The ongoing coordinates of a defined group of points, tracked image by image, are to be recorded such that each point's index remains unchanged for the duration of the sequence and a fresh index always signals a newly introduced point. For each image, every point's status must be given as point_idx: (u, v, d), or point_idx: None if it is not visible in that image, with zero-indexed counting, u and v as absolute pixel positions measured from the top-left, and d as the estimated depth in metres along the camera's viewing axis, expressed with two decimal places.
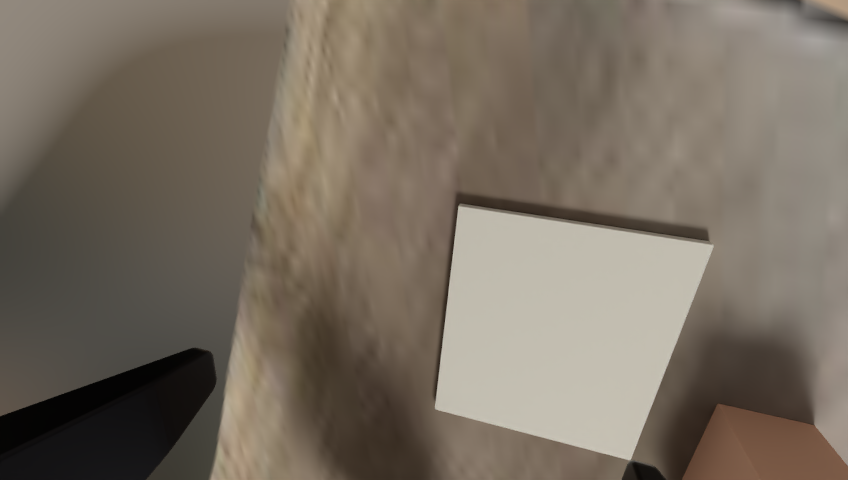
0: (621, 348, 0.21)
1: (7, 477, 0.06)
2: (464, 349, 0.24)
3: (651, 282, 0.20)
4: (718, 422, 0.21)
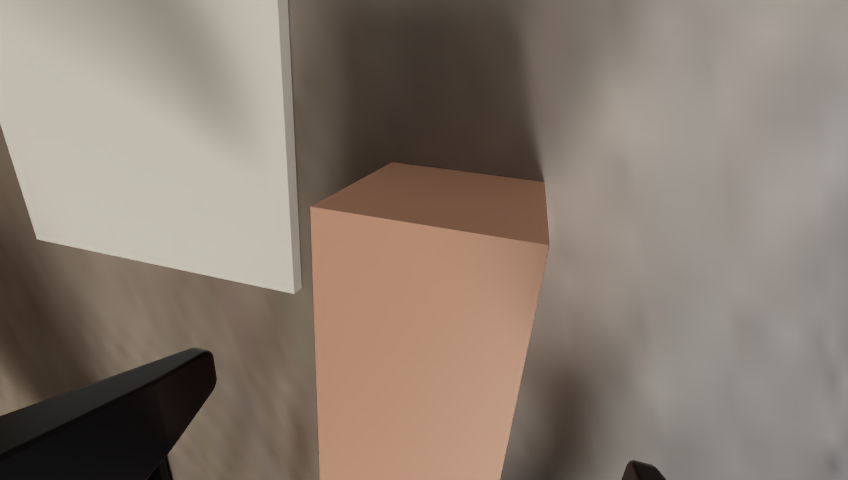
0: (209, 56, 0.12)
1: (7, 477, 0.06)
2: (23, 112, 0.14)
3: None
4: None
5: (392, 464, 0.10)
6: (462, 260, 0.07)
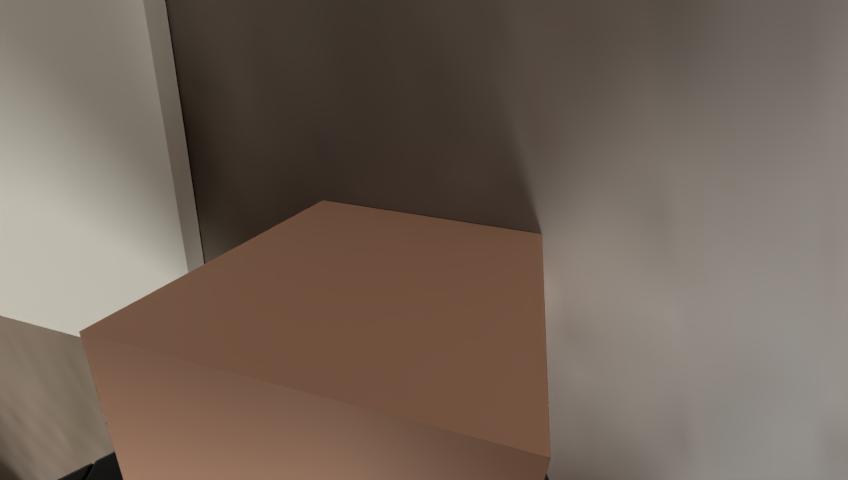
0: (56, 48, 0.08)
1: None
2: None
3: None
4: None
5: None
6: (369, 459, 0.04)
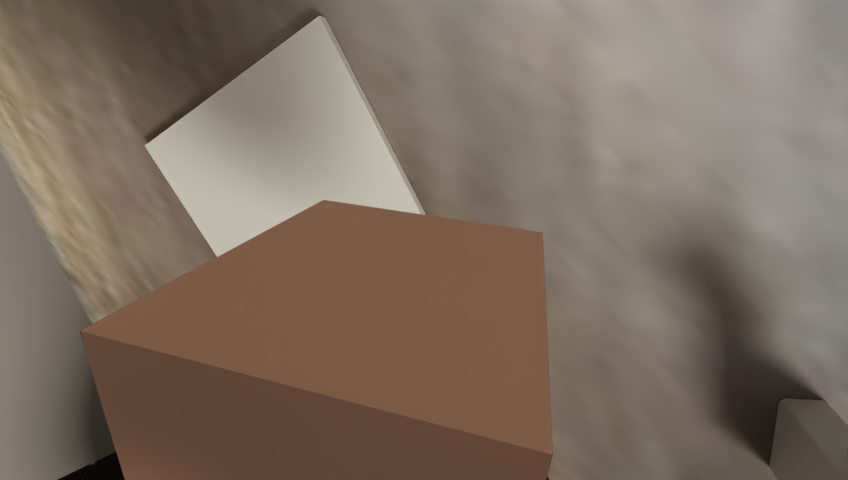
0: (350, 181, 0.19)
1: None
2: None
3: (312, 95, 0.18)
4: None
5: None
6: (370, 458, 0.04)
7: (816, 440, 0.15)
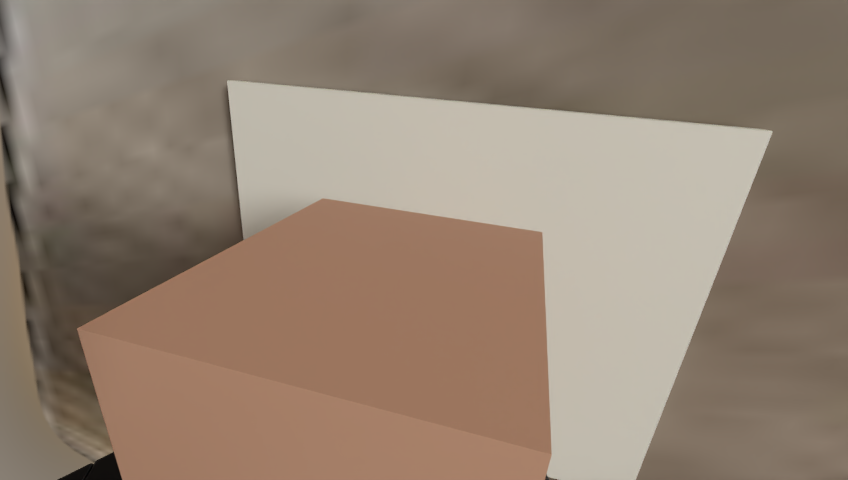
0: (433, 189, 0.11)
1: None
2: None
3: (303, 158, 0.12)
4: None
5: None
6: (368, 456, 0.03)
7: None
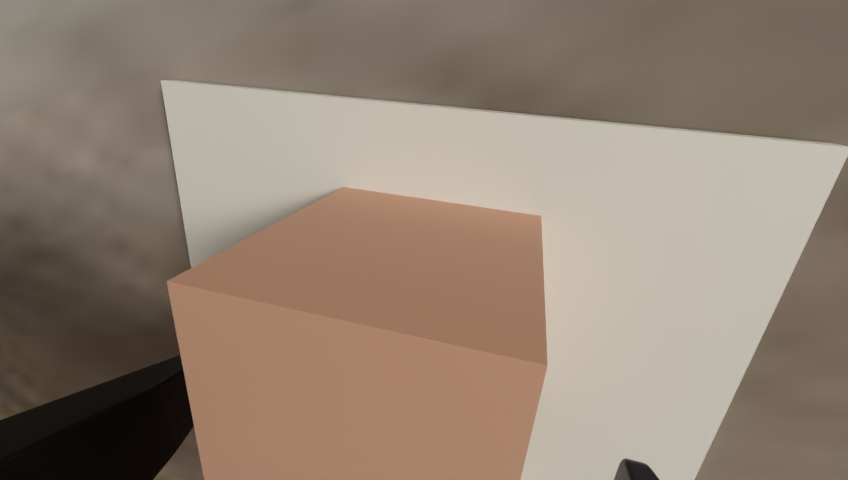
0: None
1: (14, 479, 0.06)
2: None
3: (255, 175, 0.10)
4: None
5: None
6: (404, 377, 0.04)
7: None
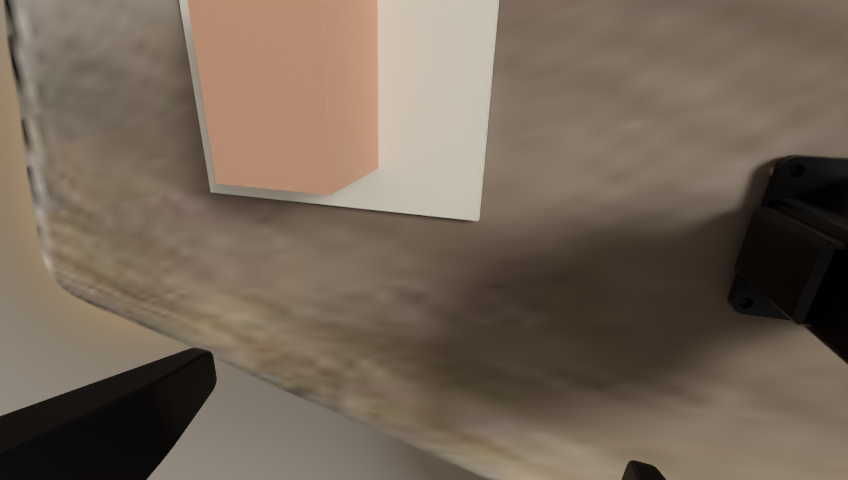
0: None
1: (7, 477, 0.06)
2: (369, 181, 0.19)
3: None
4: None
5: (258, 138, 0.14)
6: None
7: None
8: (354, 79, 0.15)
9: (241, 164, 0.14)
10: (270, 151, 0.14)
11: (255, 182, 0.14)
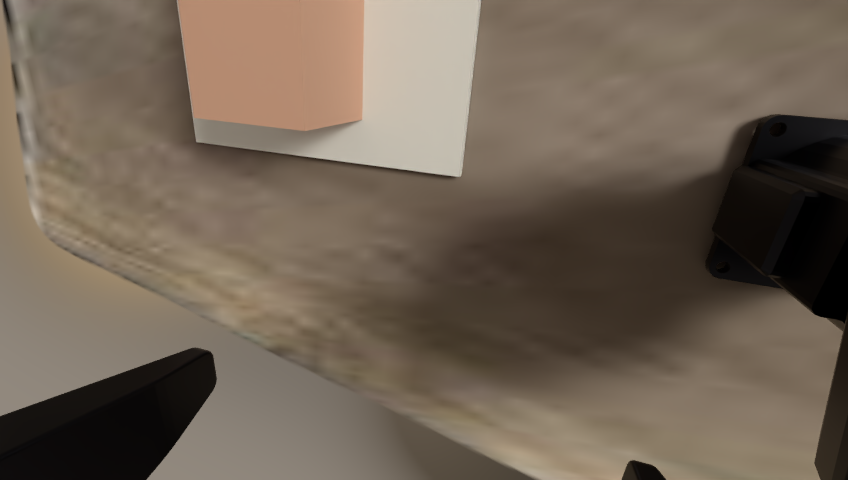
0: None
1: (7, 477, 0.06)
2: (352, 133, 0.19)
3: None
4: None
5: (236, 70, 0.14)
6: None
7: None
8: (336, 18, 0.15)
9: (218, 97, 0.14)
10: (247, 84, 0.14)
11: (232, 117, 0.14)
